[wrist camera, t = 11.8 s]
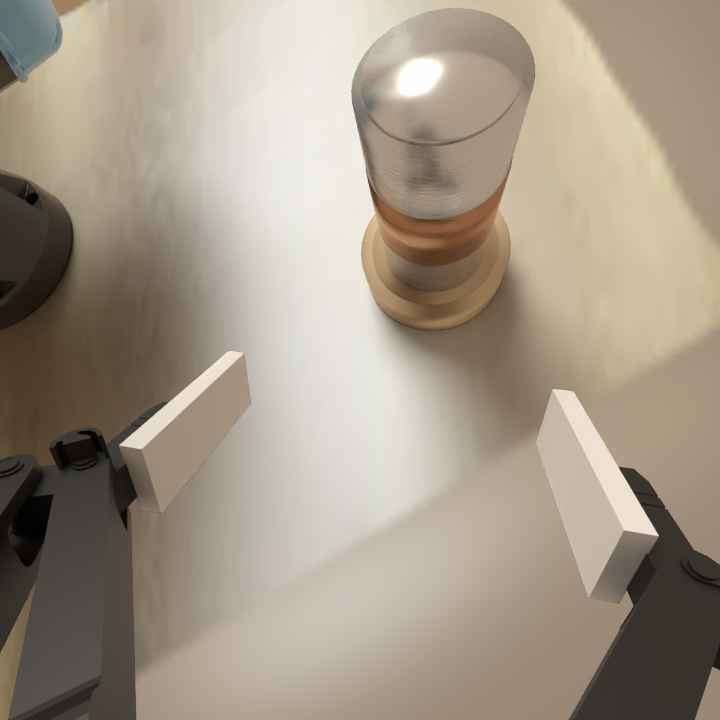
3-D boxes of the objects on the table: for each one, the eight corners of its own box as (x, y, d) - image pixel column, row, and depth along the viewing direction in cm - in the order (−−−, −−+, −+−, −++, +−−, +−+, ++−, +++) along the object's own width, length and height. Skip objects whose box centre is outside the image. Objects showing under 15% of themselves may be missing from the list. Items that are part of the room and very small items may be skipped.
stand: (358, 322, 28) (349, 307, 25) (378, 206, 30) (372, 178, 27) (495, 337, 26) (504, 322, 23) (507, 211, 28) (517, 182, 25)
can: (377, 288, 25) (334, 150, 14) (392, 201, 27) (364, 5, 15) (480, 297, 24) (531, 151, 12) (490, 204, 25) (545, -8, 13)
